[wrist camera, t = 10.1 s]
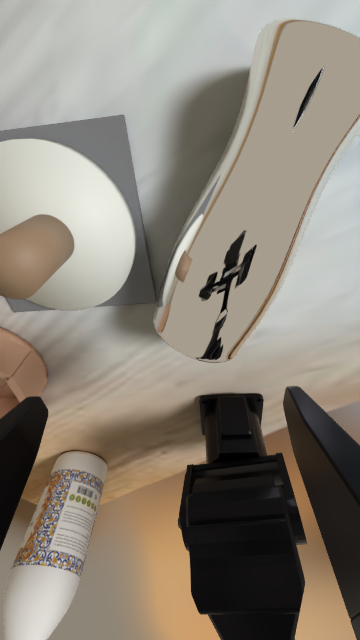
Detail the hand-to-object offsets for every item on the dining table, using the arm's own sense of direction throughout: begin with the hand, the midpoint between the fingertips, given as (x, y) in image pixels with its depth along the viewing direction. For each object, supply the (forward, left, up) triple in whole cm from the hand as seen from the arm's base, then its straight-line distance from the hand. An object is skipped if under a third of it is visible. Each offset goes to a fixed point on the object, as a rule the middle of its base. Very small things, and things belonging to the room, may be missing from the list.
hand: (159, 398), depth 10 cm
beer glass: (+10, -8, -10) cm, 16 cm away
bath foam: (-28, +16, -13) cm, 35 cm away
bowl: (-9, +19, -12) cm, 24 cm away
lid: (+3, +8, -12) cm, 15 cm away
